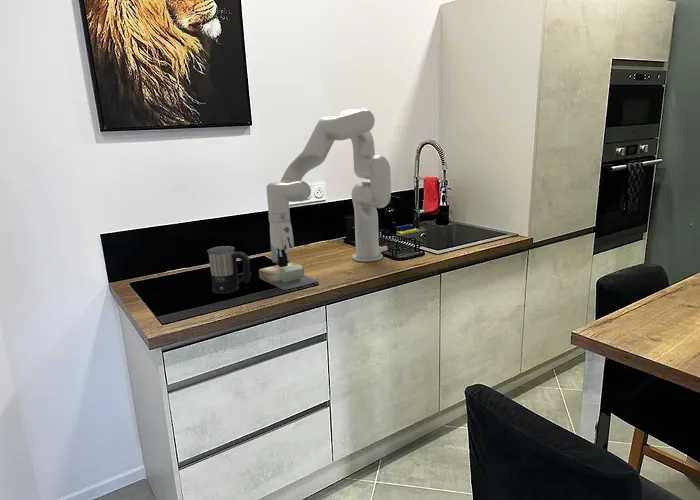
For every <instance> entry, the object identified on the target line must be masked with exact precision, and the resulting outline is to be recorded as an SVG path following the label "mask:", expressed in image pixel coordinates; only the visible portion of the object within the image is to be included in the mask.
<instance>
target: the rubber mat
mask: <svg viewBox="0 0 700 500" xmlns="http://www.w3.org/2000/svg"><path fill="white" fill-rule="evenodd" d="M319 282H320V281H319V280H317V279H315V278H312V277H310V276H308V275H305V274H304V275H303V276H301V277H300V279H296V280H292V281H288V282H284V283H283V282H282V281H278V282H274V283H271V284H270V285H272V286H273V285H274V287H275V286H276V287H275V288H277V287H278V288H277V289H279V288H280V289H279V290H281V289H282V290H281V291H283V290H286V291H289V290H288V289H290V290H293V289H292V288H294V289H296V288H295V287H298V288H301V287H300V286H302V287H305V285H306V286H310V285H313V284H312V283H314V284H317V283H319ZM309 284H310V285H309Z"/></svg>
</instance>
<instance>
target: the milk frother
mask: <svg viewBox="0 0 700 500" xmlns="http://www.w3.org/2000/svg"><path fill="white" fill-rule="evenodd" d="M206 252H207V253H208V260H209V267H210V273H211V274H210V275H211V284H212V285H211V286H212V293H214V294H217V295H218V294H221V295H222V294H223V295H224V294H230V293H234V292H236V291H238V290H239V289H240V285H239V284H241V283H242V282H244V283H245V284H248V283H249V282H250V281H251V275H252V272H251V263H250V258H249V256H248V254H247V253H246V252H243V251H235V246H231V245H225V246H224V245H221V246H214V247H211V248H209V249H207V251H206ZM237 259H239V260H241V262H242V272H240V273H239V271H238V262H237Z"/></svg>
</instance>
